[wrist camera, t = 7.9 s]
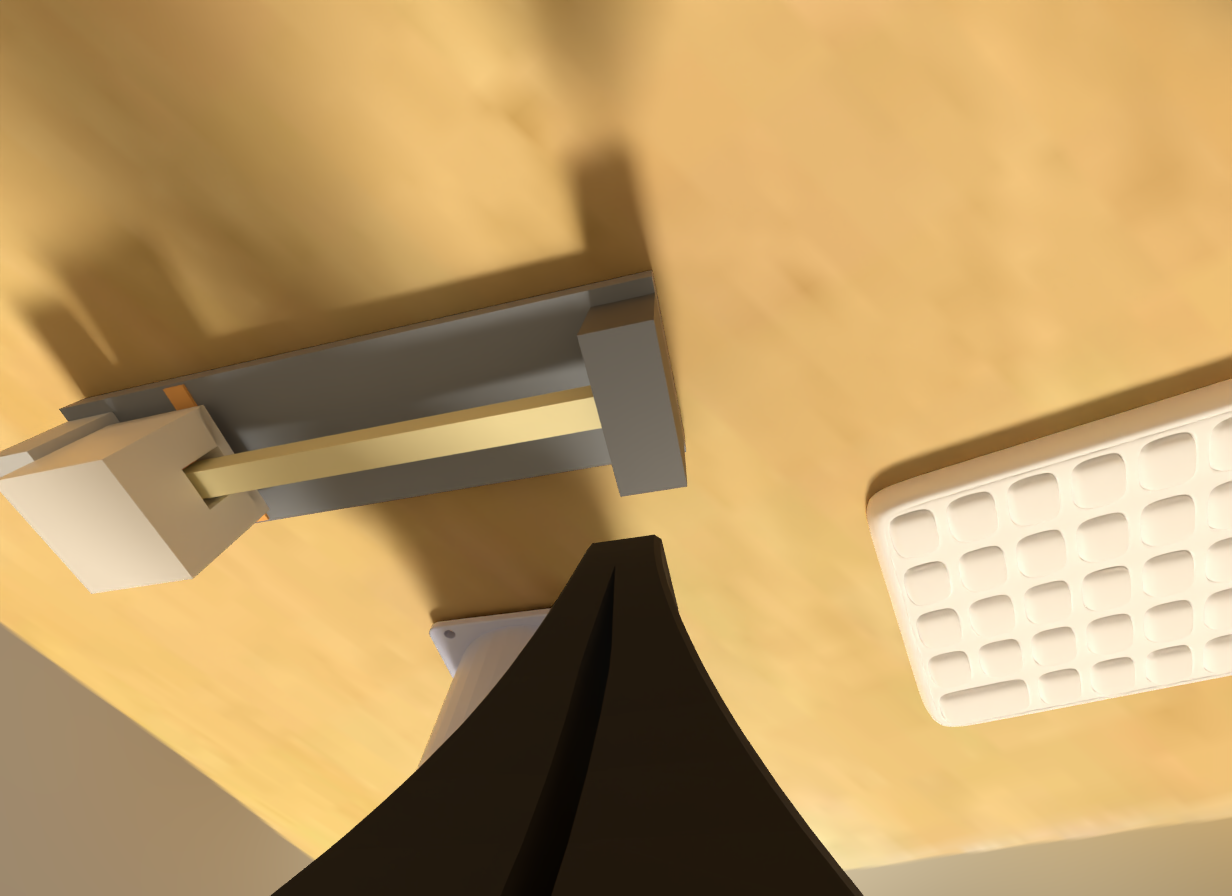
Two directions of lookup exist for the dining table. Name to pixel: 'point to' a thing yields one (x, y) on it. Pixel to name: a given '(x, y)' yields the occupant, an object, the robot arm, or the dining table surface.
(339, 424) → the cord board
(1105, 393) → the dining table surface
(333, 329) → the dining table surface
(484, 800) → the robot arm
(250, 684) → the dining table surface
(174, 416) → the beige sliding bead
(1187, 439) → the calculator
